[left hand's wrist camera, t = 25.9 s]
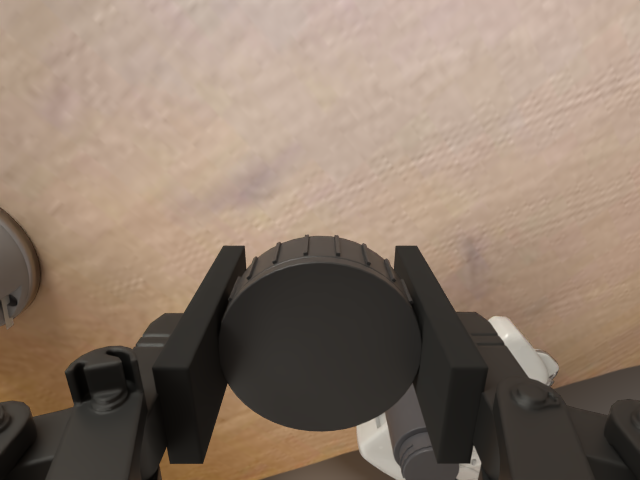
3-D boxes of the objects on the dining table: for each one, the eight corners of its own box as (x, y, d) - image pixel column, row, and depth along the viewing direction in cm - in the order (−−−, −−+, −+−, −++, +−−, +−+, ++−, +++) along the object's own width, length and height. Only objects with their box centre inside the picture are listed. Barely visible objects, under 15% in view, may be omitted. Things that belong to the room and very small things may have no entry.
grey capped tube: (405, 301, 43) (459, 439, 26) (414, 336, 45) (471, 486, 28) (362, 313, 43) (390, 454, 27) (373, 347, 45) (405, 500, 29)
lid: (317, 192, 11) (316, 213, 9) (448, 315, 12) (469, 352, 11) (192, 319, 12) (172, 357, 11) (322, 415, 14) (322, 462, 12)
